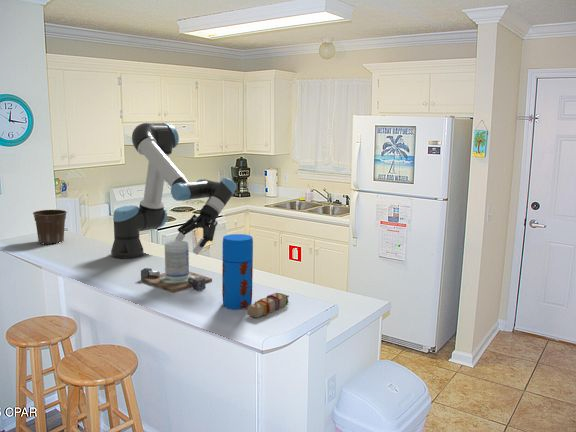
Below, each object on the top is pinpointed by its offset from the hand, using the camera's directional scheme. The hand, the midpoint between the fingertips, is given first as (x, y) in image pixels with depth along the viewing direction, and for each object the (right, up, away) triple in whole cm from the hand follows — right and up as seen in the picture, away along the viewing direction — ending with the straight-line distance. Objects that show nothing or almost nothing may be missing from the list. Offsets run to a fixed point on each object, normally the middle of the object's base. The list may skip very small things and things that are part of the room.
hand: (184, 249), depth 213 cm
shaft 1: (-14, -12, +2) cm, 19 cm away
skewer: (+37, -20, -29) cm, 51 cm away
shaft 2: (+6, -15, -7) cm, 17 cm away
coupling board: (-3, -13, 0) cm, 13 cm away
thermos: (+24, -18, -24) cm, 39 cm away
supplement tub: (-3, -12, 0) cm, 12 cm away
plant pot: (-82, 0, +62) cm, 103 cm away
